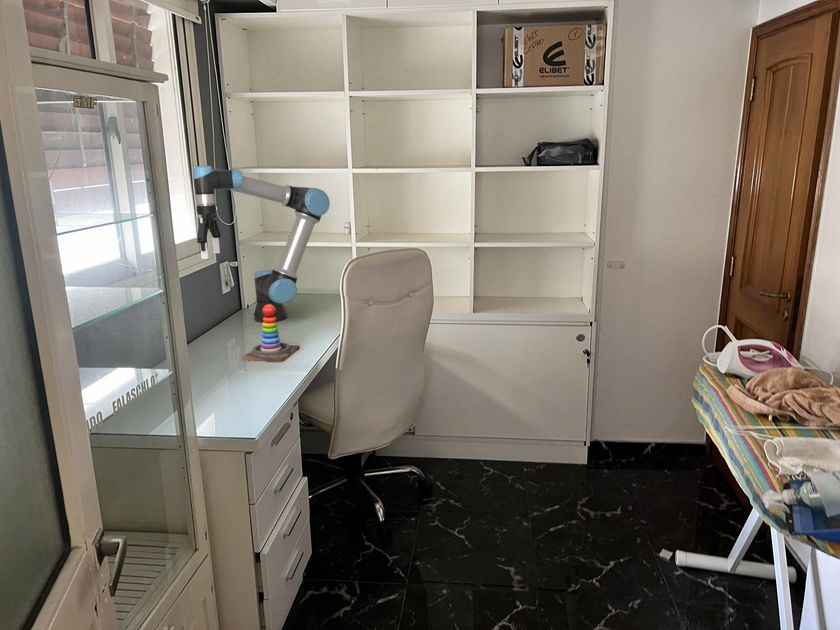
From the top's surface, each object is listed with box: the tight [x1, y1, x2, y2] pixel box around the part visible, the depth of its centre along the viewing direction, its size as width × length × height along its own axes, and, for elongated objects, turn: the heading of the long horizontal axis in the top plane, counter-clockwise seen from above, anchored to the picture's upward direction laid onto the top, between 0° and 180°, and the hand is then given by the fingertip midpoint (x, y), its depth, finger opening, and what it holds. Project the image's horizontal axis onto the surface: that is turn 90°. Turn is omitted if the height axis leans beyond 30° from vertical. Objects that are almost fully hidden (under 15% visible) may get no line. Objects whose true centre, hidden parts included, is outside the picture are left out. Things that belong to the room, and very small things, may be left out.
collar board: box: [241, 341, 301, 363], centre depth 250 cm, size 18×16×3 cm
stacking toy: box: [260, 304, 282, 353], centre depth 248 cm, size 8×8×19 cm
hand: (211, 255), depth 268 cm, fingers open, 13 cm apart
